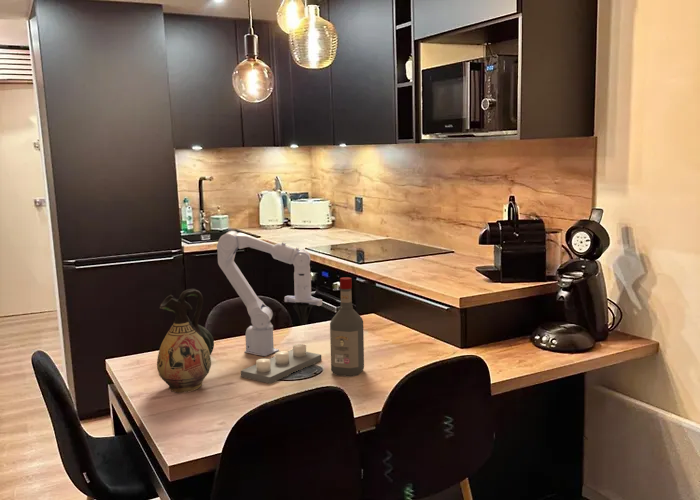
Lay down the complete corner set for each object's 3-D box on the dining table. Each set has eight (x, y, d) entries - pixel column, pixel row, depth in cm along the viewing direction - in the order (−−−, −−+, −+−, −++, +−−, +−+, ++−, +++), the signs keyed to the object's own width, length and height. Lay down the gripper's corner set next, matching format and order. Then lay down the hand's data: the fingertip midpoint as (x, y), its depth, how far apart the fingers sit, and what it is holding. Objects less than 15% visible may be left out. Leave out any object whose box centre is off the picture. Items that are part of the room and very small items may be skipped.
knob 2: (290, 361, 217) (290, 346, 216) (298, 357, 220) (298, 343, 220) (301, 363, 214) (300, 348, 214) (309, 359, 218) (308, 345, 217)
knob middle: (272, 368, 209) (272, 353, 209) (281, 365, 213) (281, 350, 212) (283, 371, 207) (282, 356, 206) (292, 367, 211) (291, 352, 210)
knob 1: (253, 377, 202) (253, 361, 201) (263, 373, 206) (262, 357, 205) (264, 379, 200) (263, 363, 199) (273, 375, 203) (273, 360, 203)
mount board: (240, 376, 203) (240, 370, 202) (293, 354, 224) (293, 349, 224) (270, 383, 196) (269, 377, 196) (321, 360, 217) (321, 354, 217)
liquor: (356, 377, 200) (354, 281, 195) (328, 375, 203) (326, 280, 198) (366, 368, 208) (364, 276, 204) (339, 365, 211) (337, 275, 207)
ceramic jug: (162, 400, 184) (156, 297, 180) (155, 383, 198) (149, 287, 194) (222, 391, 191) (217, 290, 186) (211, 375, 205) (206, 281, 200)
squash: (196, 335, 231) (174, 310, 220) (228, 342, 223) (207, 317, 213) (174, 369, 223) (150, 345, 213) (207, 378, 216) (184, 354, 205)
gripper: (278, 285, 224) (280, 324, 226) (313, 289, 217) (314, 329, 219) (290, 282, 230) (291, 319, 232) (325, 285, 223) (326, 324, 225)
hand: (303, 323), depth 226 cm, fingers closed
